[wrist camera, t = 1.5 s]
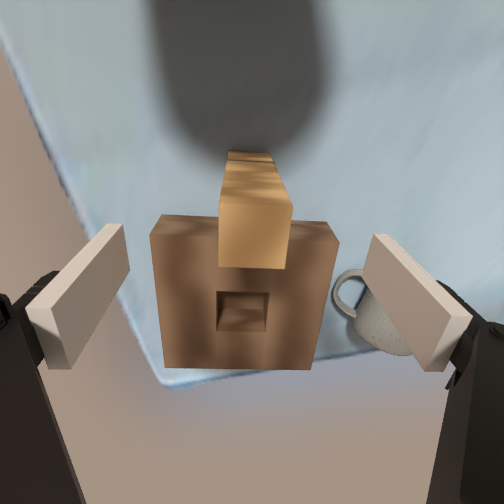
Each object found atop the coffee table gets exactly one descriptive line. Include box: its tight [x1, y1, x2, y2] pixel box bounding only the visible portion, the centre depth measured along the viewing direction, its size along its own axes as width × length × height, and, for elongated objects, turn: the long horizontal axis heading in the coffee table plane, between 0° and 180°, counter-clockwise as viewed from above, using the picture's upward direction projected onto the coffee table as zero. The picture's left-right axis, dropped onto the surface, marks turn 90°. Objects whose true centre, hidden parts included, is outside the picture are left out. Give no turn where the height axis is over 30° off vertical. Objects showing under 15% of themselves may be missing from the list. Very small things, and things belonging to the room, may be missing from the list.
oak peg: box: [218, 151, 293, 269], centre depth 23 cm, size 4×4×15 cm
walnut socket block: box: [149, 215, 340, 370], centre depth 35 cm, size 18×18×5 cm
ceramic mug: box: [333, 269, 413, 356], centre depth 34 cm, size 11×8×8 cm
